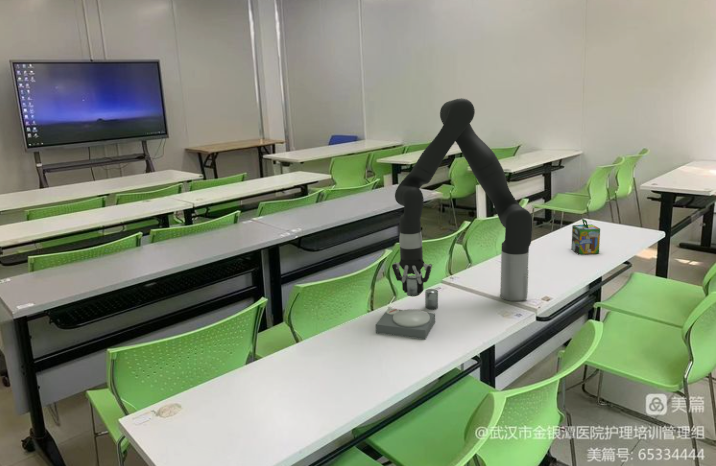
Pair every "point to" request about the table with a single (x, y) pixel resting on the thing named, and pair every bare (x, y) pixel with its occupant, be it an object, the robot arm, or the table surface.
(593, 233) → the colorful box with handle
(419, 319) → the scale
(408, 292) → the cylinder
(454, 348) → the table surface
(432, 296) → the cylinder
